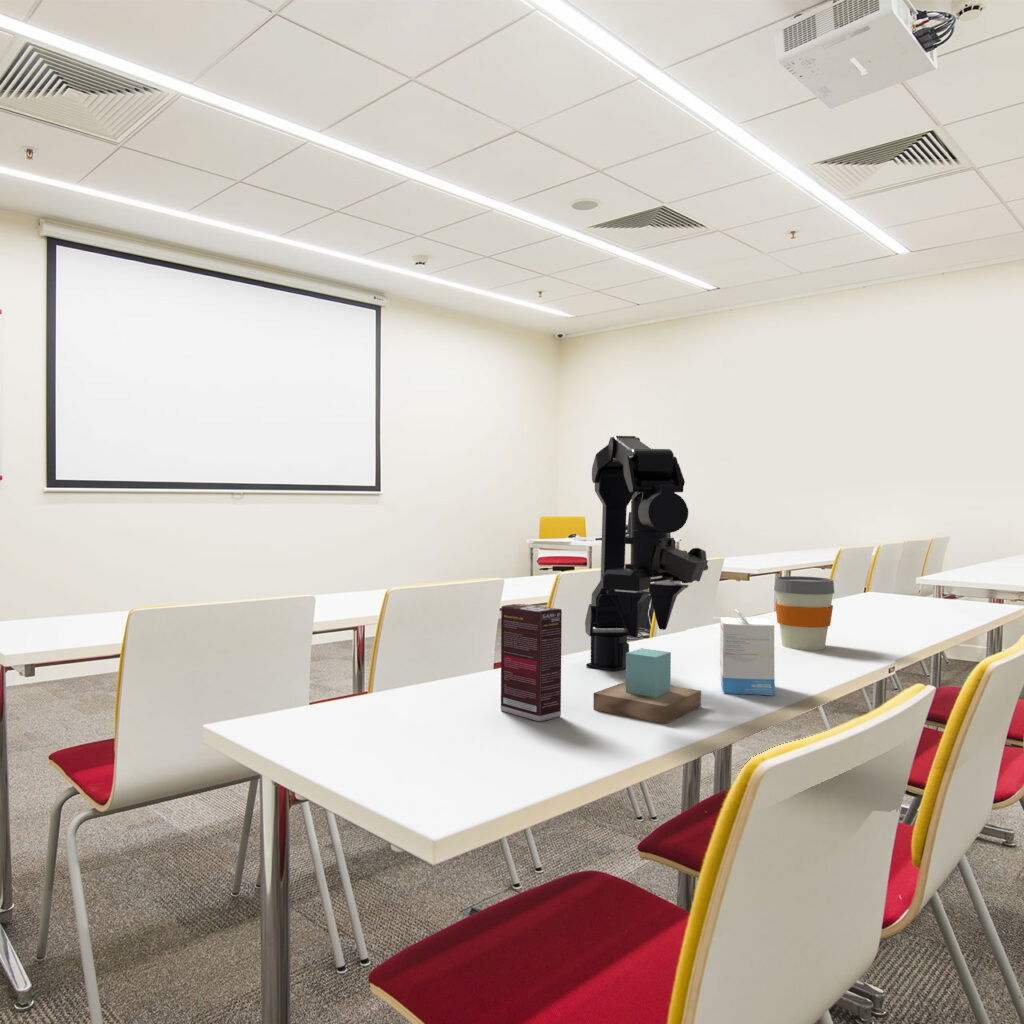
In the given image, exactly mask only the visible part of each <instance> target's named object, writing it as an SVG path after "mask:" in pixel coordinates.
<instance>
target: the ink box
mask: <svg viewBox="0 0 1024 1024" xmlns="http://www.w3.org/2000/svg"><path fill="white" fill-rule="evenodd" d="M734 611H735V612H736V613H737V614H738V615H739V617H726V616H725V617H724V616H721V617H720V637H719V639H720V641H719V642H720V644H719V647H720V649H719V684H720V686H721V689H722V692H723V694H734V695H736V694H737V695H758V696H759V695H760V696H761V695H763V696H775V694H776V693H775V690H776V689H775V688H776V687H775V683H776V681H775V680H776V679H775V675H776V674H775V625H774V623H773V622H772V620H771V619H769V618H766V617H765V618H763V617H762V618H761V617H746V616H745V615H744V614H742V612H740V611H739V610H738V609H737V607H736V608H734Z"/></svg>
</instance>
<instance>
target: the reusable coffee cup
mask: <svg viewBox="0 0 1024 1024" xmlns="http://www.w3.org/2000/svg"><path fill="white" fill-rule="evenodd" d="M774 580H775V581H774V588H773V591H775V596H776V602H775V603H774V604H775V613H776V622H777V623H778V624H779V630H780V637H781V638H780V640H781V645H782V646H783V647H785V648H788V649H792V650H793V649H794V650H802V651H803V650H804V651H819V650H824V649H825V648H826V641H827V636H828V629H829V627H830V626H831V623H832V615H833V609H834V605H832V602H833V594H835V584H834V579H832V578H827V577H816V576H800V575H799V576H795V575H794V576H793V575H790V576H788V575H787V576H785V575H784V576H776V577H775V579H774Z"/></svg>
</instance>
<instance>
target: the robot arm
mask: <svg viewBox="0 0 1024 1024" xmlns="http://www.w3.org/2000/svg"><path fill="white" fill-rule="evenodd" d="M591 467H592V468H591V481H592V483H593V484H594V492H595V493H596V495H597V497H598V499H599V501H600V502H601V504H602V512H601V513H602V516H601V519H602V520H601V553H600V556H601V557H600V581H599V582H598V584H597V585H596V586H595V588H594V590H593V591H592V593H591V601H590V602H591V603H589V604H588V606H587V607H588V608H587V611H586V615H585V616H586V617H585V621H584V627H585V628H584V629H585V630H584V631H585V634H586V635H588V636H589V637H590V662H587V663H586V664H585V665H586V667H589V668H593V669H600V670H605V671H613V672H615V671H619V670H622V669H626V653H628V652H630V644H629V642H628V637H631V638H638V636H639V633H640V625H641V616H642V607H643V602H644V600H646V599H647V598H648V596H649V597H650V600H651V604H652V607H653V613H654V616H655V621H656V623H657V626H658V629H659V630H666V629H667V628H668V624H669V621H670V618H671V615H672V612H673V608H674V606H675V602H676V601H677V597H678V596H679V595H680V594H681V593H682V592H683V591H685V590H686V589H688V588H689V585H690V584H691V583H693V582H700V581H701V578H702V575H703V573H704V571H705V572H706V571H707V570H708V569H709V565H708V562H709V560H708V559H707V551H706V550H704V549H702V548H699V547H692V549H690V550H689V551H687V550H682V549H679V548H677V546H676V540H675V538H674V537H669V535H670V533H674V532H675V533H676V532H678V531H679V530H680V529H682V528H683V527H684V526H685V524H687V520H688V518H689V508H688V505H687V503H686V501H685V500H684V498H683V497H682V496H680V495H679V494H677V493H684V486H685V484H686V483H685V478H684V476H683V472H682V469H681V466H680V463H679V462H678V458H677V457H676V456H674V452H673V450H672V449H670V448H651V447H649V446H648V445H646V444H645V443H644V442H642V441H641V440H640V437H637V436H635V435H614V436H613V437H612V436H610V438H609V440H608V444H607V445H606V446H605V447H602V448H601V449H600V450H599V451H598V452H597V453H596V454H595V456H594V459H593V463H592V466H591ZM629 504H630V536H627V509H628V505H629ZM626 536H627V537H626ZM626 545H630V563H626ZM647 590H648V591H647Z"/></svg>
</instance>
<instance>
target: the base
mask: <svg viewBox="0 0 1024 1024" xmlns="http://www.w3.org/2000/svg"><path fill="white" fill-rule="evenodd" d="M592 702H593V711H600V712H605V713H609V714H614V715H620V716H625V717H629V718H635V719H640V720H645V721H649V722H654V723H659V724H664V725H665V724H668V723H670V722H672V721H674V720H677V719H679V718H681V717H683V716H684V715H687V714H689V713H691V712H693V711H695V710H697V709H699V708H702V690H701V689H693V688H689V687H688V688H687V687H682V686H674V685H672V684H670V692H667V693H665V694H662V695H660V696H658V697H650V696H644V695H638V694H633V693H627V692H626V681H624V682H620V683H618V684H615V685H612V686H609V687H607V688H604V689H602V690H598V691H595V692H593V701H592Z"/></svg>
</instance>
